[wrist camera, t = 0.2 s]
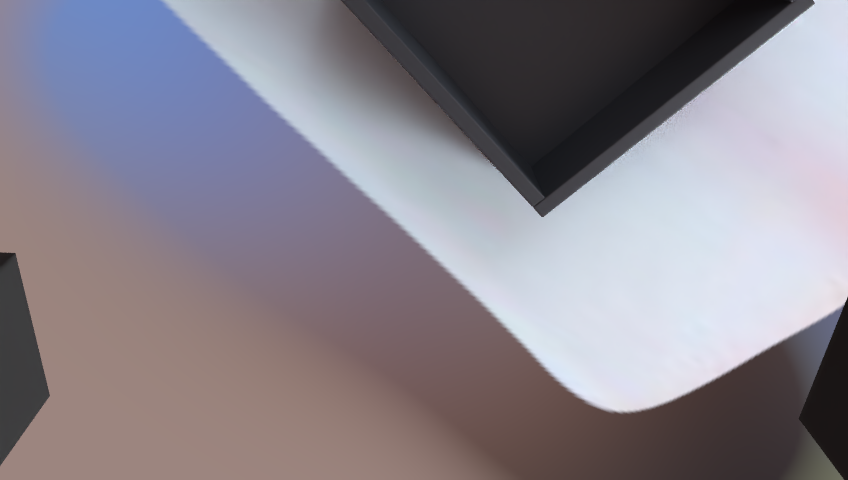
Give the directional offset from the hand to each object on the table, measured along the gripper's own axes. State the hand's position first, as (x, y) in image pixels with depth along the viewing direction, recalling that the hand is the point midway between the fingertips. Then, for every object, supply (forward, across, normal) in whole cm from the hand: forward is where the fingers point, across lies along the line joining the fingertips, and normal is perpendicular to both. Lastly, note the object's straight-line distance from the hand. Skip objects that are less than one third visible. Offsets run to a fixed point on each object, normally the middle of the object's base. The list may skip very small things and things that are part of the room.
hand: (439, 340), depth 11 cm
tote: (+28, +7, +3) cm, 29 cm away
